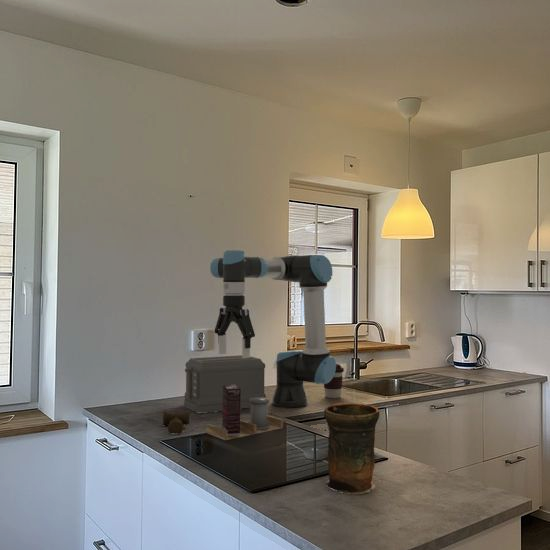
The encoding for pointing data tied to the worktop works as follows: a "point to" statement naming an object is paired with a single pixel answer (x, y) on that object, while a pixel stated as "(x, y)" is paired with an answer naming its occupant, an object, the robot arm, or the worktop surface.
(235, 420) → the supplement box
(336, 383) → the coffee cup
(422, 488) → the worktop surface
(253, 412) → the light grey cylinder
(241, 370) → the toaster
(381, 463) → the worktop surface
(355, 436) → the vessel
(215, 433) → the oak rack
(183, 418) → the kendama
